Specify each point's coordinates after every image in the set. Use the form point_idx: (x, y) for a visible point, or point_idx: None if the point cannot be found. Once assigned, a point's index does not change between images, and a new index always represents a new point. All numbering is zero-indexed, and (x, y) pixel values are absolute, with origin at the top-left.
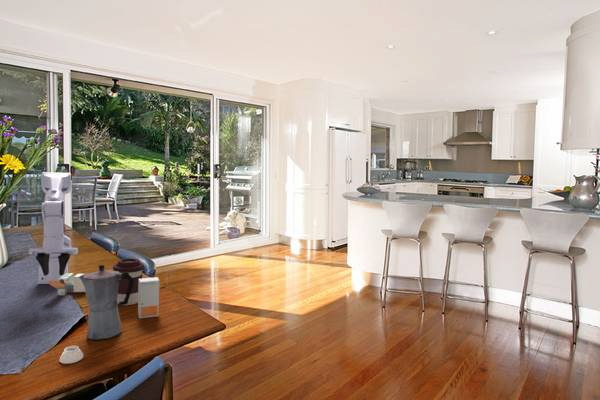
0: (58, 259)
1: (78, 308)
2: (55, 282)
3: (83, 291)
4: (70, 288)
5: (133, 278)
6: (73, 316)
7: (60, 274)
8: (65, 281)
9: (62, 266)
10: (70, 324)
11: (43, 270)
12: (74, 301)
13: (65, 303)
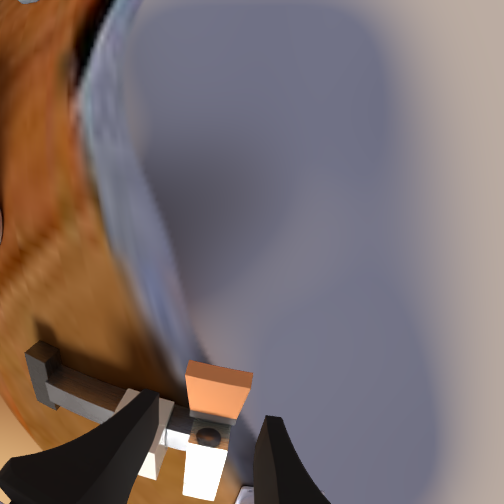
0: (86, 491)
1: (104, 184)
2: (203, 369)
3: (135, 391)
4: (187, 421)
5: None
6: (113, 83)
7: (148, 394)
8: (190, 434)
9: (95, 428)
10: (122, 10)
11: (284, 446)
12: (141, 293)
13: (173, 276)
